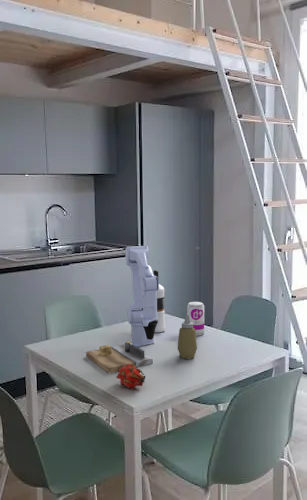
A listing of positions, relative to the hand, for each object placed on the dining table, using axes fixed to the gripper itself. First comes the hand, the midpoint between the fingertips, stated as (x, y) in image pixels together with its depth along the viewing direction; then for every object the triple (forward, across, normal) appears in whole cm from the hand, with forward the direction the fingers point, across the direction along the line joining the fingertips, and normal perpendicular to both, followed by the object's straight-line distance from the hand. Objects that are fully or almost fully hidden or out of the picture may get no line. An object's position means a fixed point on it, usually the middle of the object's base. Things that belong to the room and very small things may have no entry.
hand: (150, 338), depth 197 cm
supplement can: (+9, -38, +12) cm, 41 cm away
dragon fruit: (+9, +29, +1) cm, 30 cm away
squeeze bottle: (+9, -6, +14) cm, 18 cm away
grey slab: (+8, +5, -12) cm, 15 cm away
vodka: (+9, -39, -8) cm, 41 cm away
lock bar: (+6, +3, -6) cm, 9 cm away
